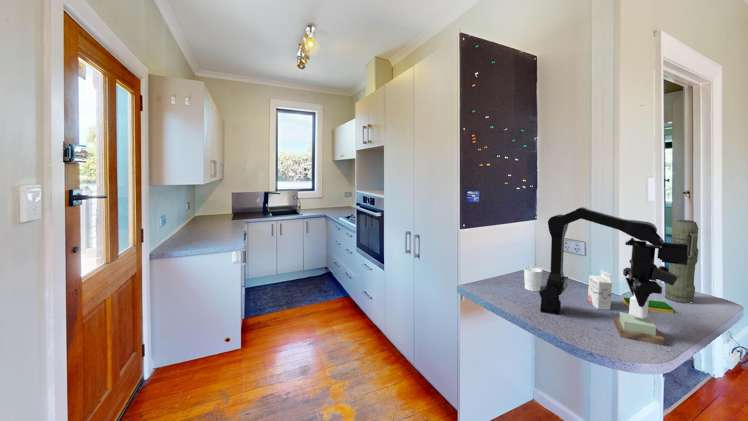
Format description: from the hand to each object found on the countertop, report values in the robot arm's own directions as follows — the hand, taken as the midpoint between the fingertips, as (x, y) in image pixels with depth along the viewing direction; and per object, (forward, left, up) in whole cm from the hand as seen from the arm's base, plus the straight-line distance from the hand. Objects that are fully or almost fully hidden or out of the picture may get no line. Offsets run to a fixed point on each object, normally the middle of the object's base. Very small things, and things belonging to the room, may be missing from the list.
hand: (638, 303), depth 100 cm
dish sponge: (+9, +29, -12) cm, 33 cm away
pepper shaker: (0, 0, -5) cm, 5 cm away
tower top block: (0, 0, -9) cm, 9 cm away
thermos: (+23, +45, -11) cm, 52 cm away
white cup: (-33, +30, -11) cm, 46 cm away
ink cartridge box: (-8, +22, -11) cm, 26 cm away
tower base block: (0, 0, -12) cm, 12 cm away
